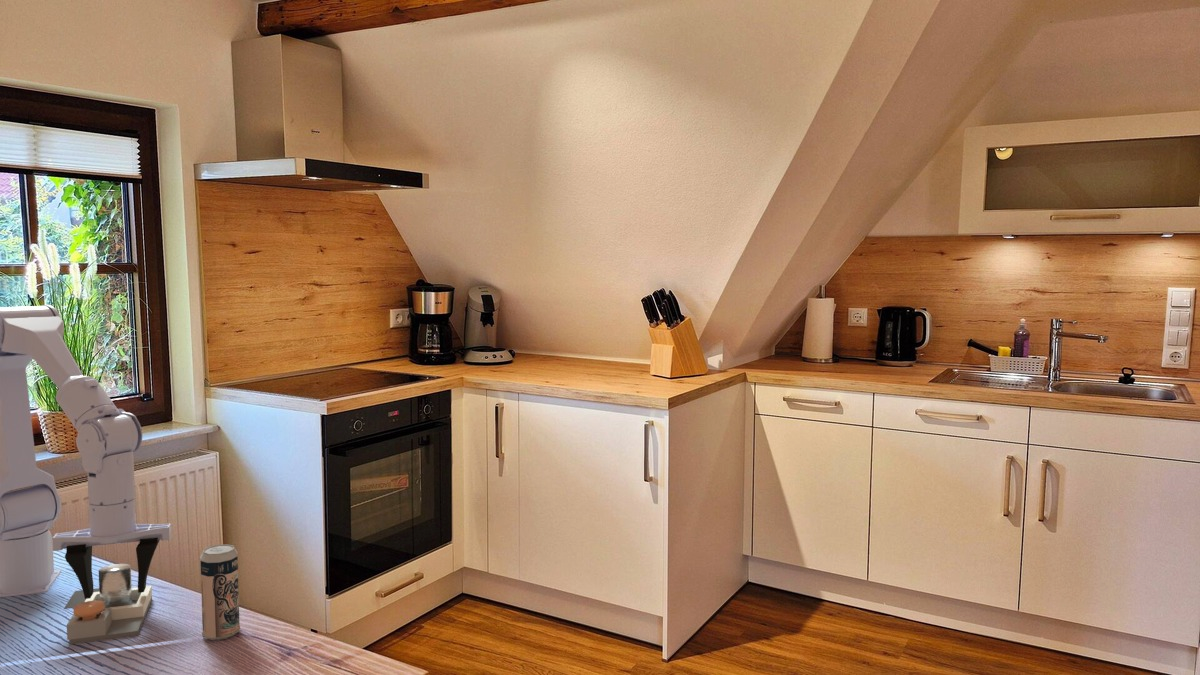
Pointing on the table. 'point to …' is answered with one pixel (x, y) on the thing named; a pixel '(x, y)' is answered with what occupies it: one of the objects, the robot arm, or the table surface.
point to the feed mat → (77, 598)
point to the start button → (89, 609)
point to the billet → (115, 585)
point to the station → (111, 620)
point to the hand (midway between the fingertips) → (115, 593)
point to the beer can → (220, 592)
